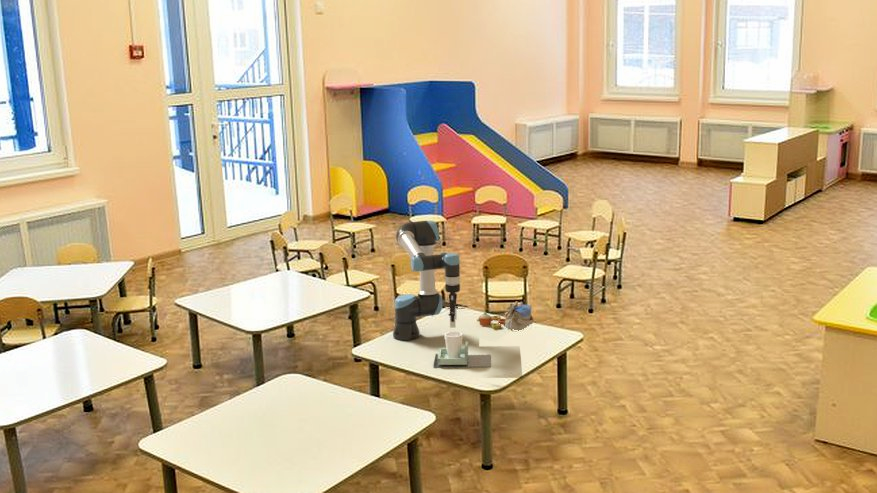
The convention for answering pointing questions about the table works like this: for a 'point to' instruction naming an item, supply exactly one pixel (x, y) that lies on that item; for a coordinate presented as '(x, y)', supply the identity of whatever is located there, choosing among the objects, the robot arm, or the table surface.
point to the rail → (472, 362)
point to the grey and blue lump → (518, 316)
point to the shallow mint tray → (445, 360)
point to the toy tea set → (487, 319)
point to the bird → (449, 304)
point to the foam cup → (453, 344)
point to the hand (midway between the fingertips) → (453, 323)
